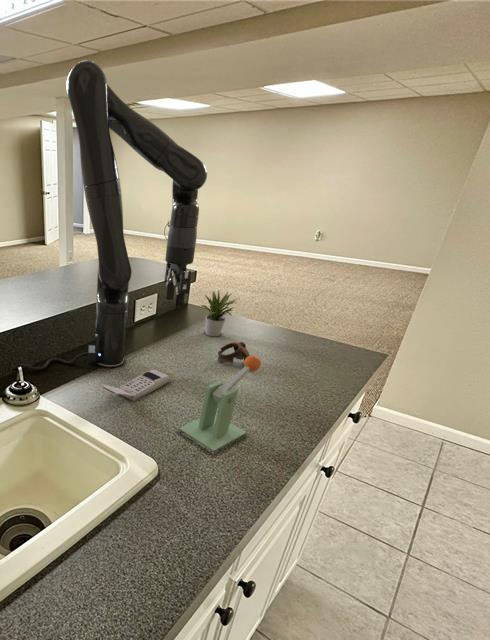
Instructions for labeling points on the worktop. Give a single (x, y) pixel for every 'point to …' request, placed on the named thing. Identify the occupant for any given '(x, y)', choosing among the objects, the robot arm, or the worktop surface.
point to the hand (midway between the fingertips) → (173, 303)
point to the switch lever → (238, 376)
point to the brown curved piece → (238, 354)
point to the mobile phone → (140, 385)
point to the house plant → (216, 314)
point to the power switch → (215, 420)
